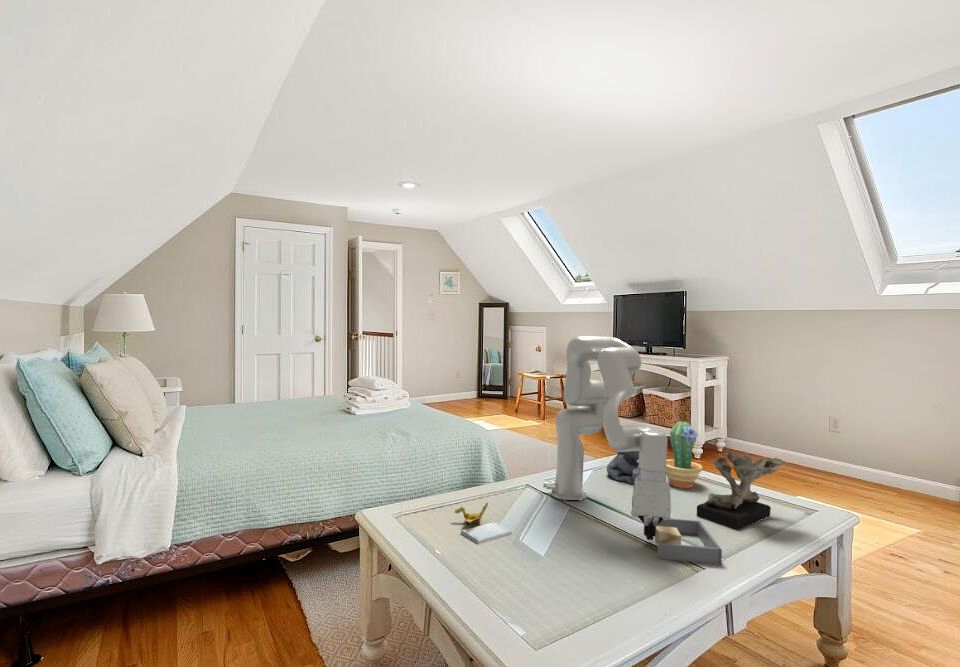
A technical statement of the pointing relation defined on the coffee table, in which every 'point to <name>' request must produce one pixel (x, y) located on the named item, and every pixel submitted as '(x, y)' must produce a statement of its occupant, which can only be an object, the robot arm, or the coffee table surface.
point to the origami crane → (471, 516)
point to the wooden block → (667, 535)
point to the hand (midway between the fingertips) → (649, 538)
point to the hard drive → (486, 532)
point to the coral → (738, 493)
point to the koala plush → (624, 466)
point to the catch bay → (687, 552)
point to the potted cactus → (682, 456)
